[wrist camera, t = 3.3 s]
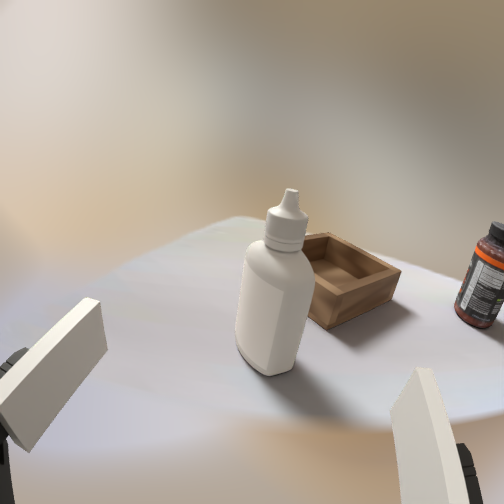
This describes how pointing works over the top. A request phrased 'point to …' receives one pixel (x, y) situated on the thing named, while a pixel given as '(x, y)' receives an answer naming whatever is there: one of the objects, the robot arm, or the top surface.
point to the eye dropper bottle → (275, 291)
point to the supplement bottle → (484, 281)
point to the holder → (345, 279)
